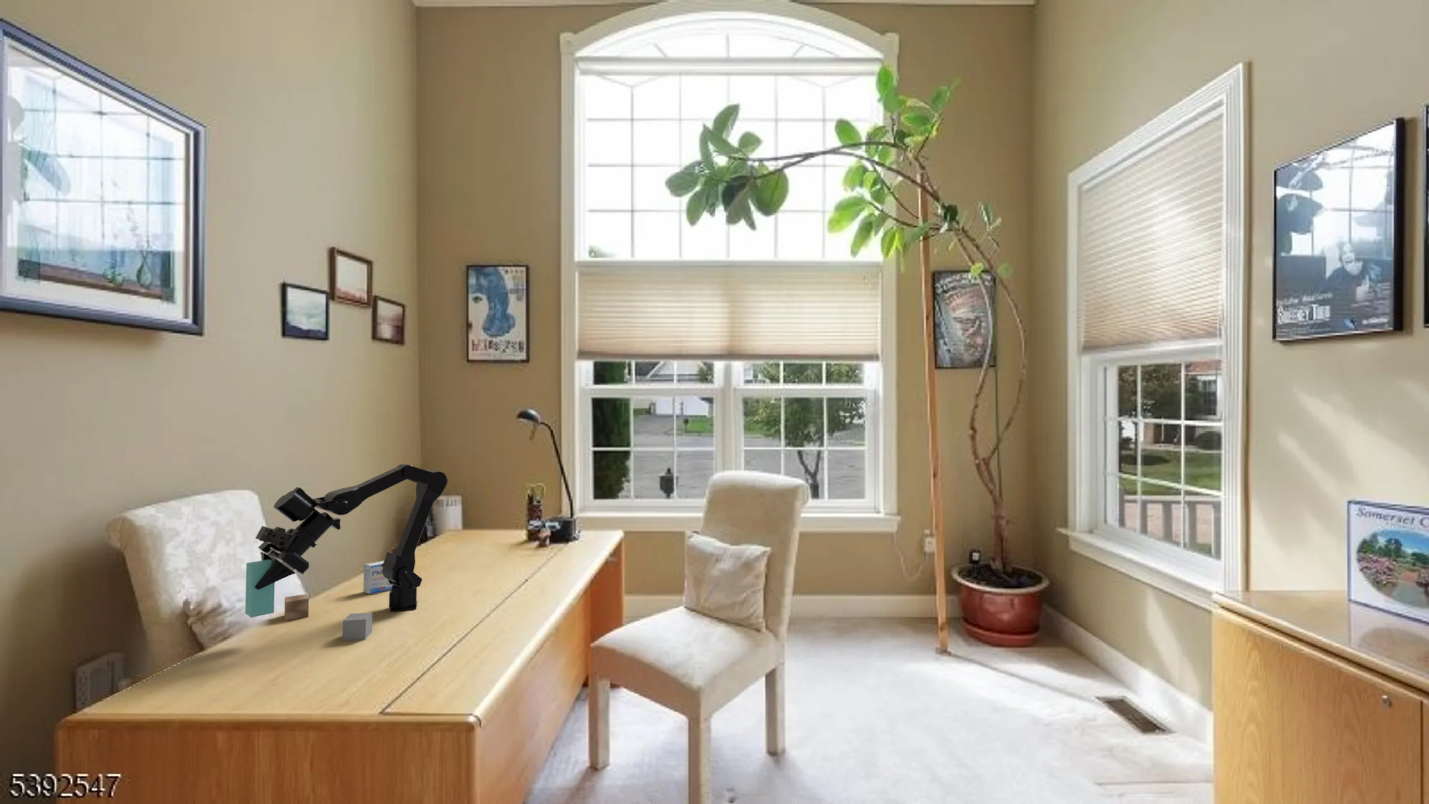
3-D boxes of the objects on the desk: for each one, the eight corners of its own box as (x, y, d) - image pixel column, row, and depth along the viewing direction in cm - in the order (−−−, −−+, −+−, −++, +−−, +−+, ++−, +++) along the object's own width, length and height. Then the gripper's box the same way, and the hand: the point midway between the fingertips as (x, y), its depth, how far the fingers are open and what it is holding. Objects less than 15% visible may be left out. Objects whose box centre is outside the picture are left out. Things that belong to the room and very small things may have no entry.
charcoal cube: (371, 632, 153) (372, 612, 153) (365, 639, 148) (365, 619, 148) (349, 633, 152) (350, 613, 152) (342, 641, 147) (343, 620, 147)
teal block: (267, 608, 149) (269, 559, 149) (273, 612, 146) (275, 562, 146) (245, 613, 145) (246, 562, 145) (251, 617, 142) (252, 566, 142)
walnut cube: (306, 612, 167) (307, 593, 167) (308, 617, 163) (308, 598, 163) (284, 615, 164) (284, 597, 164) (285, 621, 160) (286, 602, 160)
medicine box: (369, 595, 183) (370, 566, 183) (362, 592, 185) (363, 563, 185) (396, 589, 189) (396, 561, 189) (389, 586, 192) (390, 558, 192)
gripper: (269, 508, 155) (212, 560, 146) (294, 518, 143) (235, 574, 134) (304, 535, 161) (252, 586, 152) (331, 546, 149) (276, 602, 140)
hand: (253, 586), depth 144 cm, fingers closed on teal block, 4 cm apart
